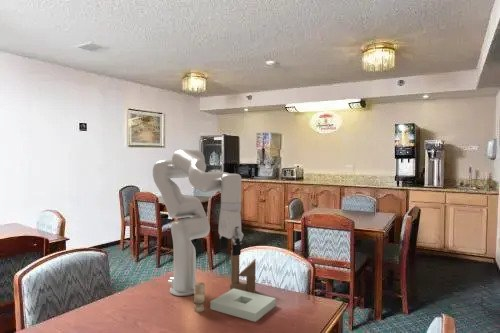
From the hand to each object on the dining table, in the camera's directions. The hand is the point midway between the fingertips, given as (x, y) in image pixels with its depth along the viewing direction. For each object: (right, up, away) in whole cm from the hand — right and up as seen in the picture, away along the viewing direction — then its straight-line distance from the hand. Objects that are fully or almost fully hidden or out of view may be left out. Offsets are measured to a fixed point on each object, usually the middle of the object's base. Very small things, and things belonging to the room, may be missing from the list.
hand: (229, 251), depth 131 cm
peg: (-12, -23, +2) cm, 26 cm away
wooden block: (+4, -23, +21) cm, 31 cm away
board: (+5, -23, +4) cm, 24 cm away
